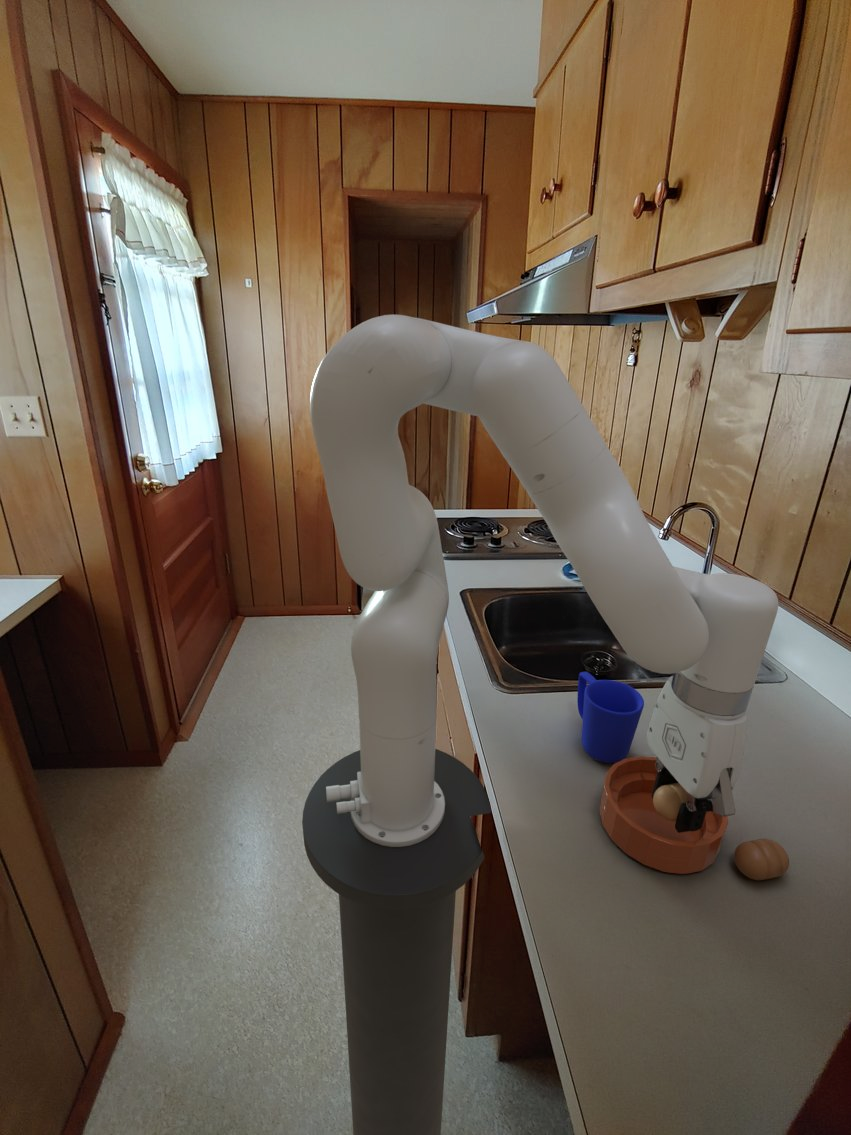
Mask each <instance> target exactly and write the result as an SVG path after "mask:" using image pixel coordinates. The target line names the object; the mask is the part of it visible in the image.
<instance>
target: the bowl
mask: <svg viewBox="0 0 851 1135" xmlns="http://www.w3.org/2000/svg"><path fill="white" fill-rule="evenodd" d="M656 761H657V756H656V757H654V756H645V755H644V756H643V755H639V756H632V757H625V758H624V759H623V760H621V761H619V762H616V763H613V765H612V766H611V767H610V768H609V769H608V771H607V772H606V774H605V779H604V784H603V790H602V794H601V799H600V804H599V810H598V811H599V815H600V820H601V825H602V827H603V828H604V830H605V831H606V833H607V835H608V836H609V838H610V839H611V841H613V842H614V843H615V844H616V845H617V846H618V847H619V849H621V850H622V851H623V852H624V853H625V855H628V856H629V857H631V858H633V859H634V860H636V861H637V862H639V863H641V864H642V865H644V866H647V867H649V868H652V869H655V870H657V871H658V870H659V871H660V872H663V873H664V872H665V873H671V874H679V875H686V874H692V873H696V872H697V873H698V872H701V871H704V870H706V868H708V867H709V866H711V865H712V864H714V863H715V861H716V859H717V856H718V854H719V853H720V850H721V847H722V844H723V841H724V837H725V835H726V832H727V829H728V826H729V818H728V817H729V816H725V817H723V816H720V815H717V814H714V813H713V812H711V811H709V812H706V815H705V818H704V822H703V825H702V827H701V828H700V829H699V830H697V831H687V832H681V833H678V832H677V830H676V829H675V823H676V821H670V820H667V819H665V818H663V817H662V816H661V815H660V814H659V813H658V812H657V811H656V809H655V807H654V803H653V798H652V797H651V796H652V792H653V788H654V784H655V780H656V776H657V774H658V773H659V772H658V771H657V770H656V768H655V763H656Z"/></svg>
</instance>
